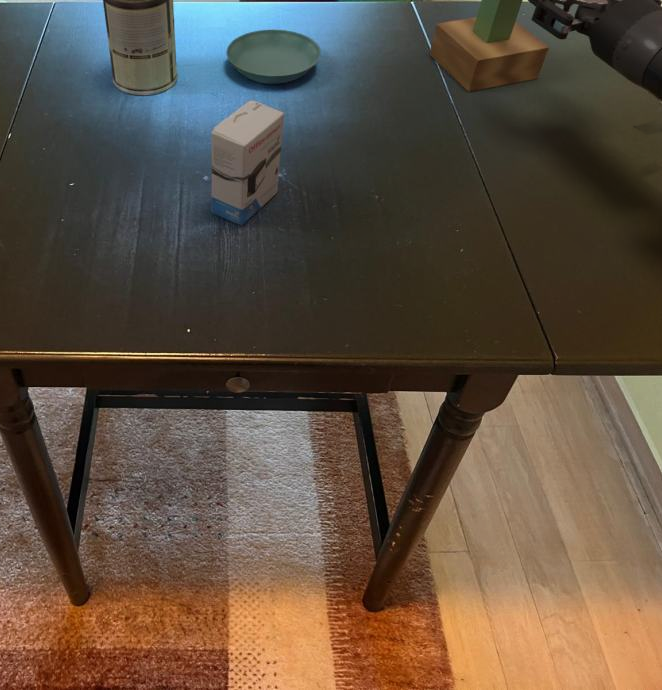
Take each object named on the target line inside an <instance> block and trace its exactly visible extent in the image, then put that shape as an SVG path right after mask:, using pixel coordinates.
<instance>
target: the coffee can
mask: <svg viewBox="0 0 662 690" xmlns="http://www.w3.org/2000/svg"><path fill="white" fill-rule="evenodd" d="M102 4H103V13H104V19H105V20H104V21H105V29H106V34H107V42H108V49H109V50H108V51H109V58H110V67H111V74H112V83H113V85H114V87H116V89H118V90H119V91H121V92H122V93H125V94H128V95H134V96H151V95H157V94H161V93H163V92H166V91H167V90H170V89H171V88H173V86H174V85H176V83H177V82H178V69H177V66H178V65H177V48H176V29H175V11H174V10H175V9H174V8H175V6H174V0H102Z"/></svg>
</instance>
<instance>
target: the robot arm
mask: <svg viewBox="0 0 662 690" xmlns="http://www.w3.org/2000/svg"><path fill="white" fill-rule="evenodd" d="M527 2H528V3H530V4H531V5H533V6H534V7H535V8H534V11H533V13H532V17H531V21H532V22H533V23H535V24H536V25H538V26H539V27H541V28H542V29H543V30H545V31H547V32H548V33H549V34H551V35H552V36H553V37H555V38H557V39H558V40H566V39H567V38H568V35H569V33H571V32H575V31H576V32H577V33H578V34H581V35H584V36H586V37H588V41H589V43H590V49H591V51H592V53H593V55H594V56H596V57H597V58H598V59H599V60H601V61H602V62H603V63H605V64H606V65H607V66H609V67H610V68H612V69H613V70H614V71H616V73H619V74H620V75H621V76H622V77H624V79H626V80H627V81H629V82H631V84H634V85H635V86H638V87H639V88H642V89H644V90H645V91H646V92H648V93H649V94H650V95H652V96H653V97H654V98H655V99H657V100H658V101H659V102H661V103H662V0H527ZM556 4H558V5H562V6H563V7H562V8H561V7H560V6H558V5H556ZM573 5H578V6H577V8H576V10H575V13H574V16H573V15H572V12H571V10H572V8H573Z"/></svg>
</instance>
